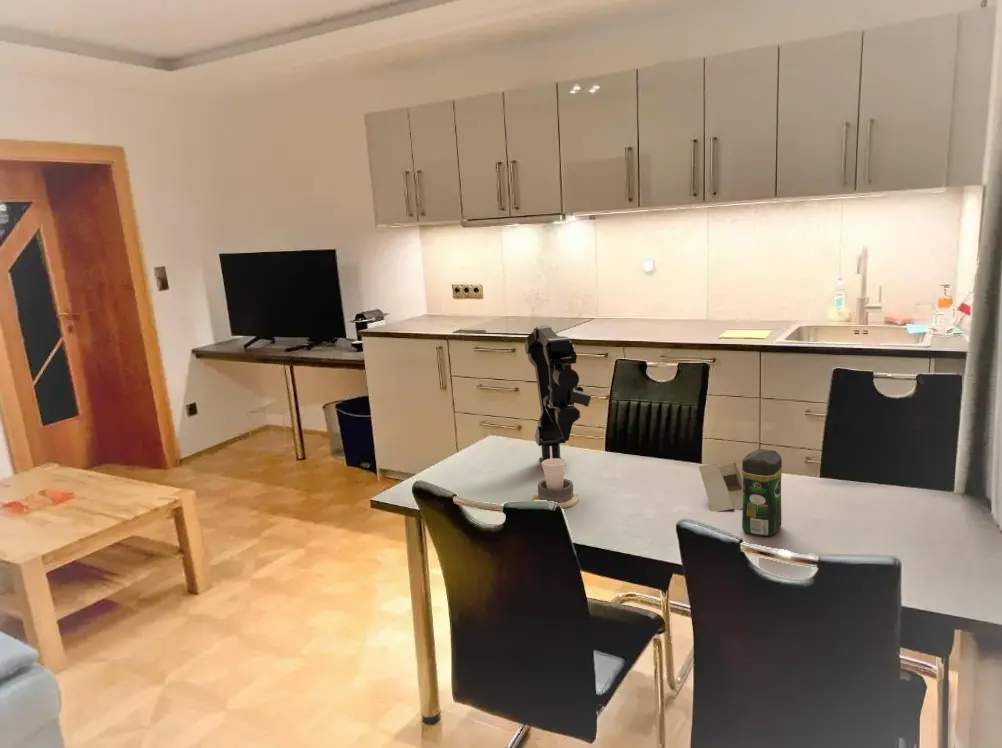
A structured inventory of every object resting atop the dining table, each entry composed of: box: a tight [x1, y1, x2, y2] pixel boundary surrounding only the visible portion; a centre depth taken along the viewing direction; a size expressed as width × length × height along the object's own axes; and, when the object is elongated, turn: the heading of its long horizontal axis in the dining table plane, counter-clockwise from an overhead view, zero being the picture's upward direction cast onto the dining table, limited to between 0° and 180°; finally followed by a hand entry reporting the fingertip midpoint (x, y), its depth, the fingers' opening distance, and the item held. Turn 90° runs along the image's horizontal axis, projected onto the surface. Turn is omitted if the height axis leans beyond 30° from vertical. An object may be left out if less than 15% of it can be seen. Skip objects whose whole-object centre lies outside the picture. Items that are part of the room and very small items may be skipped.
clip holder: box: [532, 478, 580, 509], centre depth 189 cm, size 12×12×4 cm
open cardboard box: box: [698, 458, 744, 513], centre depth 183 cm, size 16×9×15 cm
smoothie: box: [541, 446, 567, 490], centre depth 188 cm, size 6×6×14 cm
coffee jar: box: [741, 448, 783, 537], centre depth 163 cm, size 10×8×19 cm
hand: (562, 436), depth 201 cm, fingers open, 9 cm apart
